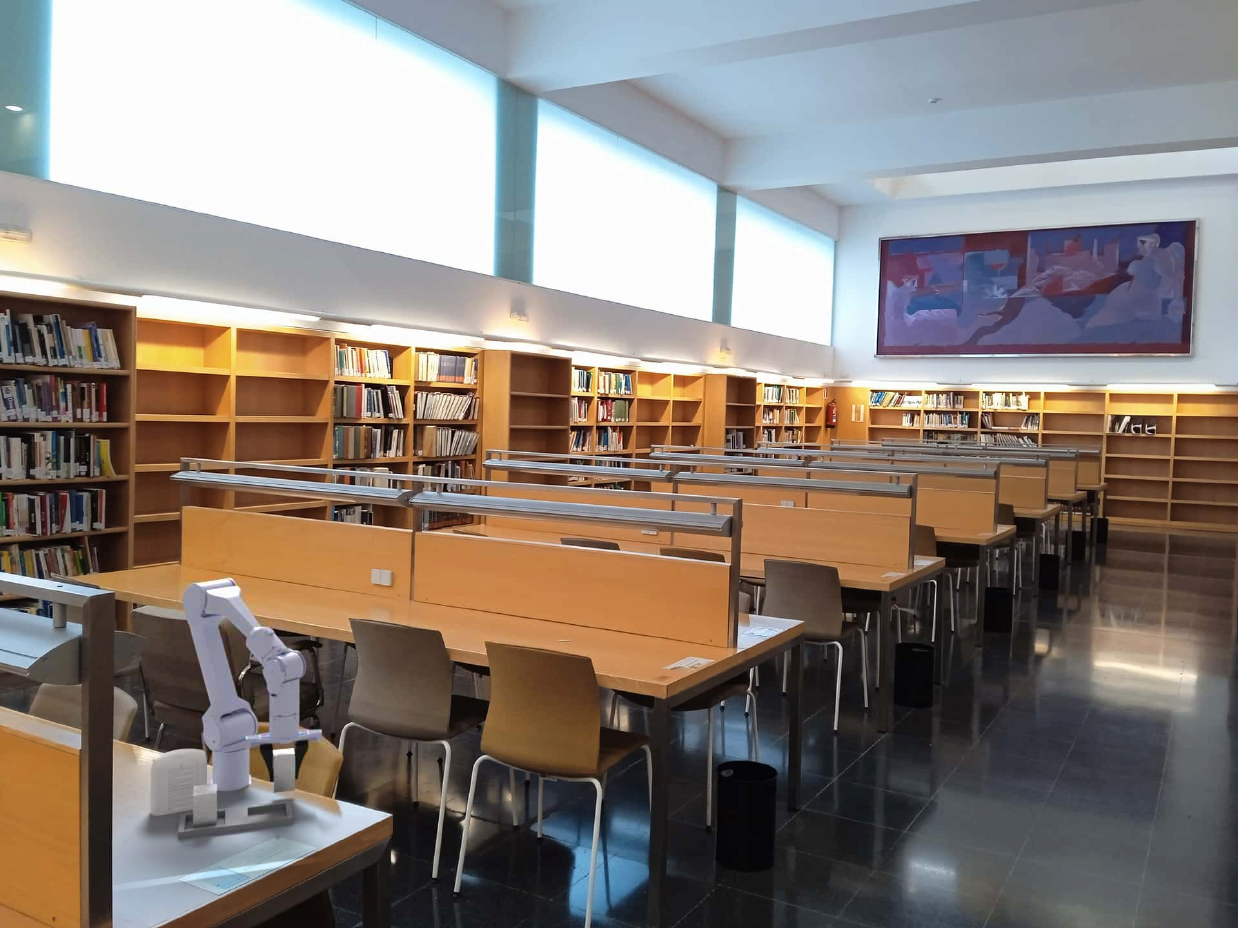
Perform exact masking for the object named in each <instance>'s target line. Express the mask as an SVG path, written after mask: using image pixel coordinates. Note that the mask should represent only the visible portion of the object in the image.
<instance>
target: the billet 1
mask: <svg viewBox="0 0 1238 928" xmlns="http://www.w3.org/2000/svg"><path fill="white" fill-rule="evenodd" d="M217 810H218V791H217V784H211V783H210V784H207V785H200V786H194V793H193V810H192V813H193V828H201V827H209V826H217Z"/></svg>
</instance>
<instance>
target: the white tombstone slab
mask: <svg viewBox="0 0 1238 928" xmlns="http://www.w3.org/2000/svg"><path fill="white" fill-rule="evenodd" d="M207 758H208V757H207V755H206V752H205V750H204V749H198V748H197V749H196V748H182V749H174V750H171V751H167V752H165V753H162V754H159V755H157V756H155V757H153V759H152V764H151V765H150V802H149V803H150V806H149V807H150V808H149V809H150V811H149V813H150V815H151V816H154V817H158V816H165V815H166V816H167V815H172V814H176V813H182V812H188V811H193V793H194V786H200V785H208V759H207Z"/></svg>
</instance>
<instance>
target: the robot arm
mask: <svg viewBox="0 0 1238 928" xmlns="http://www.w3.org/2000/svg"><path fill="white" fill-rule="evenodd" d="M181 602H182V606H183V610H184V613H185V617H186V620H187V624H188V626H189V629H190V633H191V637H192V641H193V644H194V647H195V651H196V655H197V659H198V662H199V666H200V670H201V674H202V677H203V681H204V684H205V688H206V692H207V695H208V700H209V703H210V706H209V707H208V709H207V711H205V713H204V714H203V715H202V717H201V720H202V725H203V735H202V736H203V740H204V743H205V744H206V746H207V747H208V748H209V750H210V751H212V755H211V756H212V762H211V763H212V767H211V768H212V769H211V770H212V774H211V775H212V777H211V779H210V784H217V792H218V791H219V792H233V791H238V790H241V789H244V788H246V787H248V786H249V785H252V775H251V774H250V749H252V748H257V747H259V752H260V755H261V756H262V757H261V758H262V759H263V761H264V763H265V766H266V768H267V771H268V776H269V782H270V783H273V782H274V774H273V750H274V746H277V745H278V746H279V745H287V744H294V753H295V780H299V773H300V769H301V766H302V763H303V760H304V759H305V756H306V754H307V752H308V750H309V746H310V745H309V743H310V742H317V743H319V742H322V740H323V738H322V737H323V735H322V734H323V731H322V729H300V679H302V678H303V677H304V675H305V674H306V671H307V670H306V669H307V663H306V660H305V657H304V656H303V655H302V653H301V652H300V651H299V650H293V649H292V648H288V647H287V646H286V645H285V644H284V643H283V641H282V640H281V638H279V637H278V636H277V635H276V633H275V631H274V630H273V628H271V627H268V626H261V625H260V623H259V622H258V620H257V619H256V618H255V616H254V614H253V613H252V612H251V610H250V609H249V608H248V607H247V605H246V603H245V602H244V601H243V600H242V589H241V587H239V586H238V584H237V583H236V581H235V580H234V579H233V578H230V577H225V578H222V579H215V580H210V581H203V582H191V583H189V584H188V585H187V586H186V588H185V589H184V592H183V594H182V596H181ZM225 618H227V619H228V621H229V622H230V623H231V624H233V626H234V627H236V628H237V630H239V631H240V632H241V634H243V635H244V636H245V638H246V640H245V646H246V648H247V649H248V650H249V651H250V653H251V654H252V655H253V656H254V657H255V658H256V660H257V661H258V662H259V663H260V664H261V666H262V667H263V669H262V674H263V677H264V679H265V682H266V690H267V692H268V693H269V709H268V711H269V714H268V715H269V717H268V718H269V720H268V721H269V723H268V725H269V727H268V728H269V729H268V732H265V733H260V734H258V730H259V721H258V718H257V717H256V715H255V713H254V712H253V710H252V708H251V704H250V702H248V701H247V700H245V699H242V698H241V697H239V696H238V693H237V691H236V690H237V689H236V686H235V682H234V680H233V676H232V672H231V671H232V670H231V669H230V665H229V660H228V657H227V655H226V654H227V653H226V650H225V647H224V643H223V639H222V636H221V633H220V632H221V631H220V628H219V625H220V624H221V622H222V620H223V619H225ZM228 714H229V715H228ZM224 715H225V716H224Z"/></svg>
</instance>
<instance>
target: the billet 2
mask: <svg viewBox="0 0 1238 928" xmlns="http://www.w3.org/2000/svg"><path fill="white" fill-rule="evenodd" d="M273 774H274V782H272V788H273V793H274V794H277V793H283V792H294V791H295V790H296V779H295V747H294V748H293V747H292V748H282V749H273Z"/></svg>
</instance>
